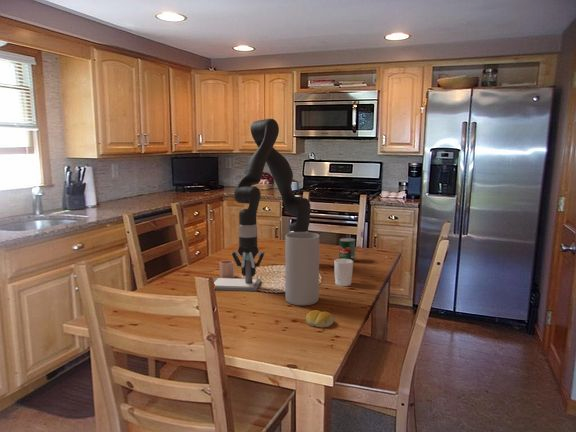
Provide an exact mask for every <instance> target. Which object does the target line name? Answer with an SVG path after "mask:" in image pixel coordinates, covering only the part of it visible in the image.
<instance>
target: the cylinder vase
mask: <svg viewBox="0 0 576 432" xmlns="http://www.w3.org/2000/svg"><path fill="white" fill-rule="evenodd" d="M284 239H285V240H284V241H285V245H284V246H285V251H284V252H285V255H284V256H285V258H284V260H285V261H284V262H285V264H284V266H285V271H284V272H285V275H284V276H285V277H284V278H285V282H284V284H285V285H284V286H285V291H284V293H285V301H286V302H287V303H288V304H291V305H294V306H302V307H303V306H304V307H305V306H311V305H315V304H316V303H318V301H319V298H320V297H319V295H320V293H319V291H320V289H319V288H320V287H319V286H320V284H319V283H320V282H319V281H320V280H319V279H320V234H318V233H315V232H309V231H308V232H294V233H289V232H288V233H286V234H285V237H284Z"/></svg>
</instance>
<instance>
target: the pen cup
mask: <svg viewBox="0 0 576 432" xmlns="http://www.w3.org/2000/svg"><path fill="white" fill-rule="evenodd" d="M218 265H219V269H218V270H219V278H235V260H234V261H233V260H228V259H226V260H225V259H224V260H220V261H219V263H218Z"/></svg>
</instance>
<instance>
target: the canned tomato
mask: <svg viewBox="0 0 576 432" xmlns="http://www.w3.org/2000/svg"><path fill="white" fill-rule="evenodd" d="M338 251H339V253H338V256H339V258H338V259H350V260H352V261H353V263H354V262H355V261H356V259H355V257H356V239H355V238H351V237H342V238H340V239H339V250H338Z"/></svg>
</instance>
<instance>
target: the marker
mask: <svg viewBox="0 0 576 432" xmlns="http://www.w3.org/2000/svg"><path fill="white" fill-rule="evenodd" d="M244 278H245V283H246V284H251V283H253V280H252V279H253V276H252V264H251V261H250V256H249V253H246V257H245V276H244Z"/></svg>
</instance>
